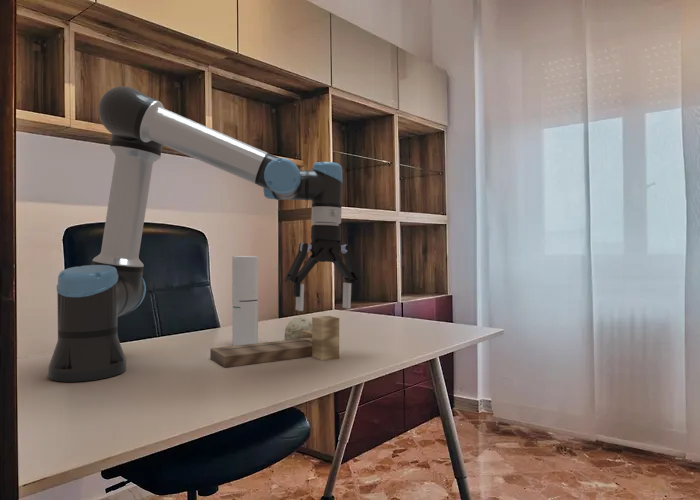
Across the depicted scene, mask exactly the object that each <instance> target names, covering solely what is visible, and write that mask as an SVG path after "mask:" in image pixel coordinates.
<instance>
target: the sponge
mask: <svg viewBox="0 0 700 500" xmlns="http://www.w3.org/2000/svg"><path fill="white" fill-rule="evenodd" d="M302 330H308V331H312V320H310V319H309V318H306V317H302V316H298V317H296V318H293V319H291V320H290V321H289V322H288V323H287V325H286V327H285V329H284V337H283V338H284V340H292V339H301V338H308V337H305V336H302Z"/></svg>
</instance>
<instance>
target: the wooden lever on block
mask: <svg viewBox="0 0 700 500" xmlns="http://www.w3.org/2000/svg"><path fill="white" fill-rule="evenodd" d="M311 322H312V331H308V330H302V336H305V337H308V338H311V339H312V356H311V357H312V358H315V359H317V360H320V361H328V360H335V359H340V318H339V317H335V316H331V315H326V316H325V315H322V316H313V317H312V318H311Z"/></svg>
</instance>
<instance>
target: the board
mask: <svg viewBox="0 0 700 500" xmlns="http://www.w3.org/2000/svg"><path fill="white" fill-rule="evenodd" d="M308 357H312V339H311V338H301V339H292V340H285V339H284V340H275V341H265V342H258V343H256V344H247V345H238V346H234V345H232V346H231V345H230V346H229V345H228V346H221V347H212V348H210V359H211V360H212V361H214V362H215V363H217V364H219V365H220V366H221V367H223V368H226V369H227V368H232V367H233V368H234V367H241V366H247V365H255V364H262V363H264V364H265V363H270V362H271V363H272V362H275V361H285V360H292V359H294V360H295V359H298V358H299V359H301V358H308Z"/></svg>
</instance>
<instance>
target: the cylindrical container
mask: <svg viewBox="0 0 700 500" xmlns="http://www.w3.org/2000/svg"><path fill="white" fill-rule="evenodd" d="M231 261H232V266H231V267H232V271H231V273H232V274H231V275H232V279H231V281H232V285H231V286H232V287H231V288H232V291H231V293H232V294H231V295H232V296H231V297H232V300H231V302H232V314H231V315H232V320H231V321H232V323H231V324H232V325H231V326H232V332H231V333H232V337H231V338H232V341H231V342H232V346H238V345H247V344H256V343H259V256H258V255H247V256H246V255H240V256H239V255H234V256H232V258H231Z"/></svg>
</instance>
